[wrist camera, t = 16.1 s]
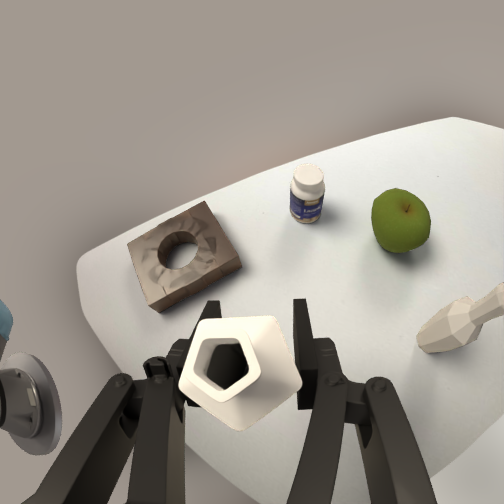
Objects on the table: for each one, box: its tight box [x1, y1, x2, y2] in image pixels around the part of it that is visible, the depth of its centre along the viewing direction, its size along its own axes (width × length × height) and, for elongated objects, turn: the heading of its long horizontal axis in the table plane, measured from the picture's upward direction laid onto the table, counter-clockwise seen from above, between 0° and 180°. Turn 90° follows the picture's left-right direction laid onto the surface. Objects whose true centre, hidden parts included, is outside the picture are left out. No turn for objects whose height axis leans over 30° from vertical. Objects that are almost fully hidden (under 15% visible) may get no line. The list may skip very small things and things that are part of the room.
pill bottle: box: [290, 164, 325, 223], centre depth 45 cm, size 6×6×10 cm
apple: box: [371, 188, 431, 253], centre depth 41 cm, size 11×10×10 cm
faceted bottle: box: [417, 282, 504, 353], centre depth 26 cm, size 6×6×22 cm
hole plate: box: [127, 201, 242, 313], centre depth 46 cm, size 16×13×4 cm
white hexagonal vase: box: [179, 316, 302, 431], centre depth 14 cm, size 5×4×15 cm
